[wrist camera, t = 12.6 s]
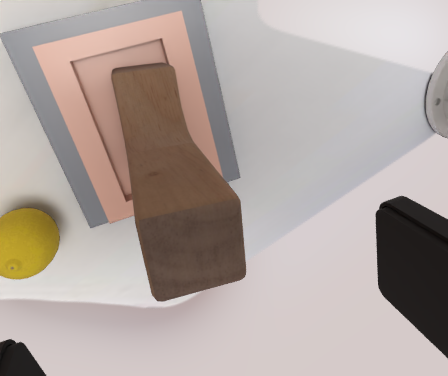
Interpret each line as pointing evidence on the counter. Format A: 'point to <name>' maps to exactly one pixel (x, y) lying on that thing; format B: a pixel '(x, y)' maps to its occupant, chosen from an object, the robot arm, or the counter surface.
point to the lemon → (26, 242)
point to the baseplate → (100, 22)
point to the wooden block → (175, 189)
